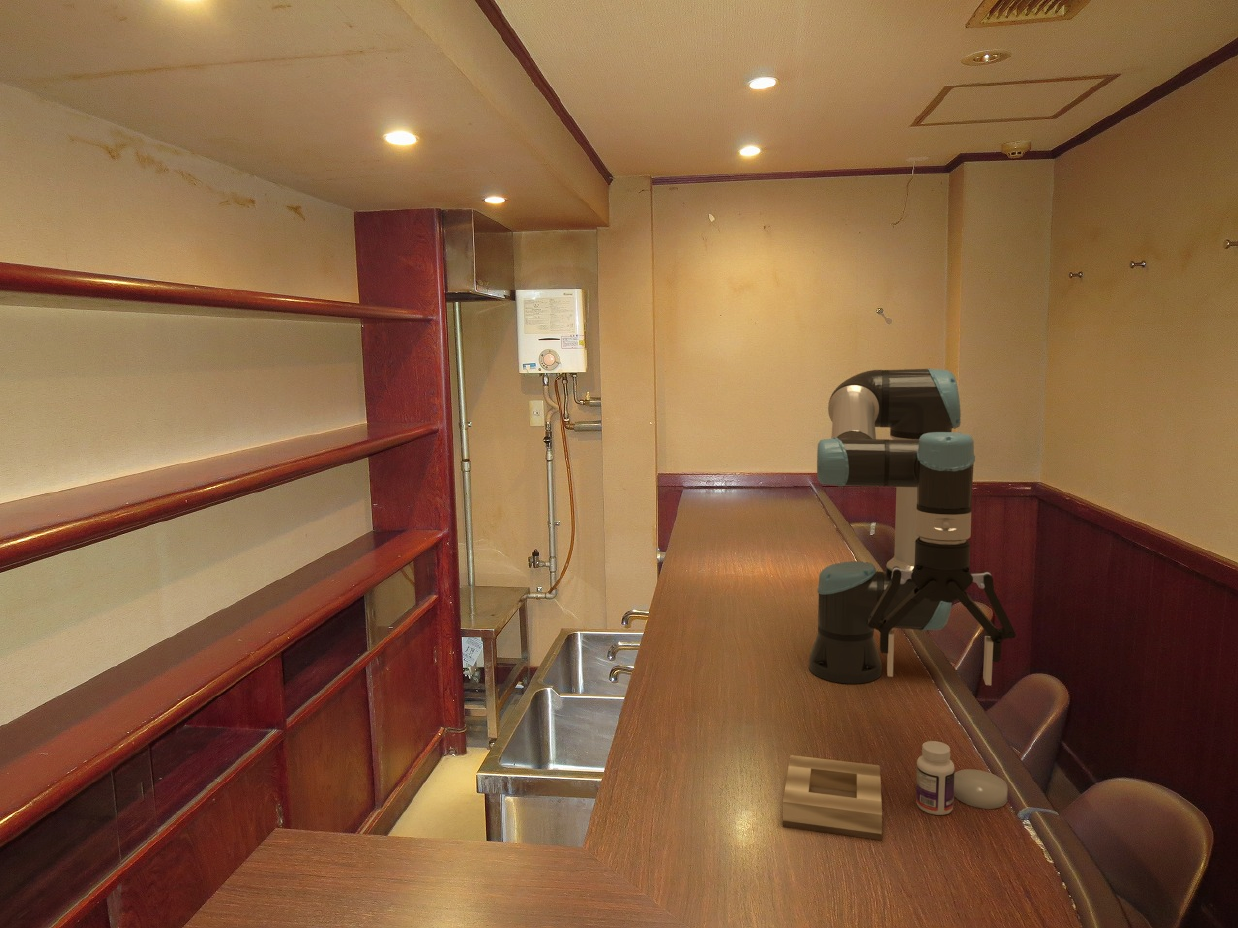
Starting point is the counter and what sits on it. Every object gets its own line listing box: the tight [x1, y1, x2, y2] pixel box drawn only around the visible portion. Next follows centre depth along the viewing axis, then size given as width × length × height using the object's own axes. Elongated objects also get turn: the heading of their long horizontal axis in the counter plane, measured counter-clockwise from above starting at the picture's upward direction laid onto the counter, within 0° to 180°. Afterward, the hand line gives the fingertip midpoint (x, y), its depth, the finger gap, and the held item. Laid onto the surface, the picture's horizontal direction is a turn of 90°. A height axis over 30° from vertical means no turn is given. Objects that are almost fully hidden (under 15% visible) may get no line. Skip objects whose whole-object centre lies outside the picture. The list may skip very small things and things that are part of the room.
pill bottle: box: [915, 740, 956, 816], centre depth 125 cm, size 5×5×10 cm
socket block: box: [782, 754, 883, 841], centre depth 126 cm, size 14×14×4 cm
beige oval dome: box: [954, 768, 1008, 810], centre depth 128 cm, size 8×8×2 cm
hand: (937, 677), depth 122 cm, fingers open, 13 cm apart
